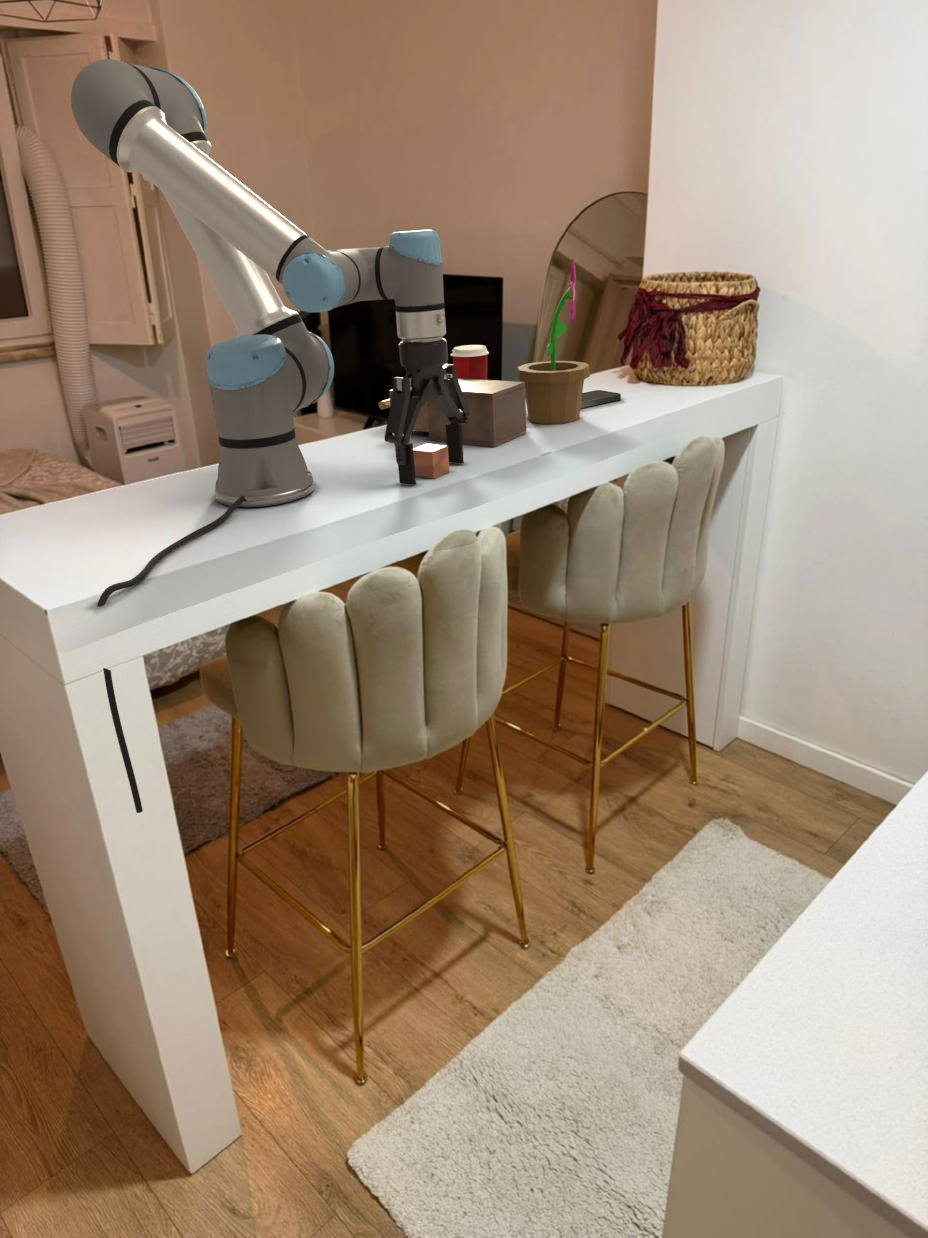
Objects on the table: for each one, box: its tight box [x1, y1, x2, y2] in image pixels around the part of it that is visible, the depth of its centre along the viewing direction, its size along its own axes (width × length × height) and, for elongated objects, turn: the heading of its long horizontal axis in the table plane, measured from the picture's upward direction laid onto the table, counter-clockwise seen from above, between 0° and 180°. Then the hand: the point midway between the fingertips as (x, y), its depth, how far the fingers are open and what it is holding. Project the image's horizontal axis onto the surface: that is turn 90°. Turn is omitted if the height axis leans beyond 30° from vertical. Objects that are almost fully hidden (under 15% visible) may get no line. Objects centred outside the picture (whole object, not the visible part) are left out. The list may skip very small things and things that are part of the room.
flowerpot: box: [516, 257, 591, 425], centre depth 173 cm, size 14×14×30 cm
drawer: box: [378, 388, 429, 433], centre depth 173 cm, size 18×10×8 cm, turn 56°
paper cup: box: [450, 344, 490, 380], centre depth 182 cm, size 8×8×14 cm
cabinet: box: [427, 378, 527, 448], centre depth 166 cm, size 15×12×10 cm
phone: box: [580, 389, 622, 409], centre depth 191 cm, size 8×1×15 cm
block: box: [413, 443, 450, 480], centre depth 145 cm, size 4×4×4 cm
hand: (432, 472), depth 146 cm, fingers open, 13 cm apart
